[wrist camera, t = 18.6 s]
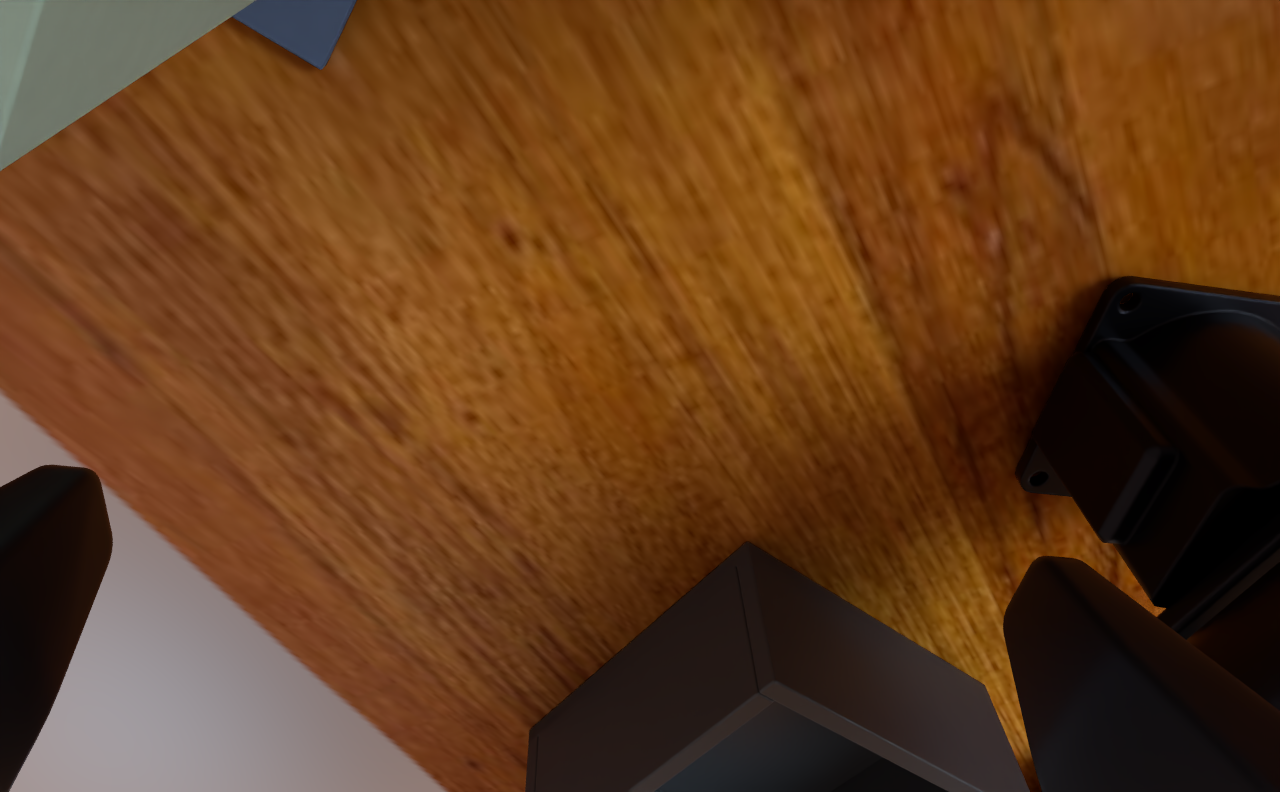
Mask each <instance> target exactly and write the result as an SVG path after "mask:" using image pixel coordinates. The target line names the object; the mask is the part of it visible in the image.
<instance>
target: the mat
mask: <svg viewBox="0 0 1280 792" xmlns="http://www.w3.org/2000/svg"><path fill="white" fill-rule="evenodd" d="M356 1H357V0H256V1H254V2H253V3H251V4H250V5H248V6H247V7H245V8H244V9H242V10H241V11H239V12H238V13H236V14H235V15H233V16H232V17H233V18H235V19H236V20H238V21H240V22H241V23H243V24H245V25H246V26H248V27H250V28H251V29H253V30H255V31H256V32H258V33H260V34H261V35H263V36H265V37H266V38H268V39H270V40H271V41H273V42H275V43H276V44H278V45H280V46H281V47H283V48H285V49H286V50H288V51H290V52H291V53H293V54H295V55H296V56H298V57H300V58H301V59H303V60H305V61H306V62H308V63H310V64H312V65H313V66H315V67H317V68H318V69H321V70H322V69H323V68H324V67H325V66H326V65H327V62H328V60H329V58H330V56H331V54H332V52H333V50H334V48H335V45H336V43H337V41H338V39H339V37H340V35H341V33H342V31H343V29H344V26H345V24H346V22H347V20H348V18H349V16H350V14H351V12H352V9H353V7H354V5H355V3H356Z"/></svg>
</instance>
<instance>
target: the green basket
mask: <svg viewBox="0 0 1280 792" xmlns="http://www.w3.org/2000/svg"><path fill="white" fill-rule="evenodd" d="M254 1H256V0H0V171H1V170H3V169H4V168H6V167H7V166H9V165H10V164H12V163H13V162H15V161H16V160H18V159H19V158H21V157H22V156H24V155H25V154H27V153H28V152H30V151H31V150H33V149H34V148H36V147H37V146H39V145H40V144H42V143H43V142H45V141H46V140H48V139H49V138H51V137H52V136H54V135H55V134H57V133H58V132H60V131H61V130H63V129H64V128H66V127H67V126H69V125H70V124H72V123H73V122H75V121H76V120H78V119H79V118H80V117H82V116H83V115H85V114H86V113H88V112H89V111H91V110H92V109H94V108H95V107H97V106H98V105H100V104H101V103H103V102H104V101H106V100H107V99H109V98H110V97H112V96H113V95H115V94H116V93H118V92H119V91H121V90H122V89H124V88H125V87H127V86H128V85H130V84H131V83H133V82H134V81H136V80H137V79H139V78H140V77H142V76H143V75H145V74H146V73H148V72H149V71H151V70H152V69H154V68H155V67H157V66H158V65H160V64H161V63H163V62H164V61H166V60H167V59H169V58H170V57H172V56H173V55H175V54H176V53H178V52H179V51H181V50H182V49H184V48H185V47H187V46H188V45H190V44H191V43H193V42H194V41H196V40H197V39H199V38H200V37H202V36H203V35H205V34H206V33H208V32H209V31H211V30H212V29H214V28H215V27H217V26H218V25H220V24H221V23H223V22H224V21H226V20H227V19H229V18H230V17H232V16H233V15H235V14H236V13H238V12H239V11H241V10H242V9H244V8H245V7H247V6H248V5H250V4H251V3H253V2H254Z"/></svg>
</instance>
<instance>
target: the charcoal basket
mask: <svg viewBox="0 0 1280 792" xmlns="http://www.w3.org/2000/svg"><path fill="white" fill-rule="evenodd" d="M525 792H1030V790H1029V788H1028V786H1027V783H1026V781H1025V779H1024V776H1023V774H1022V772H1021V769H1020V767H1019V765H1018V762H1017V760H1016V758H1015V755H1014V753H1013V750H1012V748H1011V746H1010V743H1009V741H1008V739H1007V736H1006V734H1005V732H1004V729H1003V727H1002V725H1001V722H1000V720H999V718H998V715H997V713H996V711H995V708H994V706H993V703H992V701H991V699H990V696H989V694H988V692H987V689H986V687H985V685H984V684H982V683H980V682H979V681H977V680H975V679H974V678H972V677H970V676H969V675H967V674H965V673H964V672H962V671H961V670H959V669H957V668H956V667H954V666H952V665H951V664H949V663H947V662H946V661H944V660H942V659H941V658H939V657H937V656H936V655H934V654H932V653H931V652H929V651H928V650H926V649H924V648H923V647H921V646H919V645H918V644H916V643H914V642H913V641H911V640H909V639H908V638H906V637H904V636H903V635H901V634H899V633H898V632H896V631H894V630H893V629H891V628H890V627H888V626H886V625H885V624H883V623H881V622H880V621H878V620H876V619H875V618H873V617H871V616H870V615H868V614H866V613H865V612H863V611H861V610H860V609H858V608H857V607H855V606H853V605H852V604H850V603H848V602H847V601H845V600H843V599H842V598H840V597H838V596H837V595H835V594H833V593H832V592H830V591H828V590H827V589H825V588H823V587H822V586H820V585H819V584H817V583H815V582H814V581H812V580H810V579H809V578H807V577H805V576H804V575H802V574H800V573H799V572H797V571H795V570H794V569H792V568H790V567H789V566H787V565H786V564H784V563H782V562H781V561H779V560H777V559H776V558H774V557H772V556H771V555H769V554H767V553H766V552H764V551H762V550H761V549H759V548H757V547H756V546H754V545H752V544H751V543H749V542H746V543H745V544H743V545H742V546H741V547H740V548H739V549H738V550H737V551H735V552H734V553H733V554H732V555H731V556H730V557H729V558H727V559H726V560H725V561H724V562H723V563H722V564H720V565H719V566H718V567H717V568H716V569H715V570H714V571H712V572H711V573H710V574H709V575H708V576H707V577H705V578H704V579H703V580H702V581H701V582H700V583H699V584H697V585H696V586H695V587H694V588H693V589H692V590H690V591H689V592H688V593H687V594H686V595H685V596H684V597H682V598H681V599H680V600H679V601H678V602H677V603H676V604H674V605H673V606H672V607H671V608H670V609H669V610H667V611H666V612H665V613H664V614H663V615H662V616H661V617H659V618H658V619H657V620H656V621H655V622H654V623H652V624H651V625H650V626H649V627H648V628H647V629H646V630H644V631H643V632H642V633H641V634H640V635H639V636H637V637H636V638H635V639H634V640H633V641H632V642H631V643H629V644H628V645H627V646H626V647H625V648H624V649H623V650H621V651H620V652H619V653H618V654H617V655H616V656H614V657H613V658H612V659H611V660H610V661H609V662H608V663H606V664H605V665H604V666H603V667H602V668H601V669H599V670H598V671H597V672H596V673H595V674H594V675H593V676H591V677H590V678H589V679H588V680H587V681H586V682H584V683H583V684H582V685H581V686H580V687H579V688H578V689H576V690H575V691H574V692H573V693H572V694H571V695H570V696H568V697H567V698H566V699H565V700H564V701H563V702H561V703H560V704H559V705H558V706H557V707H556V708H555V709H553V710H552V711H551V712H550V713H549V714H548V715H546V716H545V717H544V718H543V719H542V720H541V721H540V722H538V723H537V724H536V725H535V726H534V727H533V728H531V729H530V731H529V745H528V759H527V774H526V788H525Z"/></svg>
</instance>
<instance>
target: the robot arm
mask: <svg viewBox="0 0 1280 792" xmlns="http://www.w3.org/2000/svg"><path fill="white" fill-rule="evenodd" d="M1130 293H1133V295H1132V297H1131V298H1130V299H1129V300H1128V301H1127V302H1125V303H1122V304H1120V301H1121V300H1122V299H1123V297H1124V296H1126V295H1128V294H1130ZM1037 472H1040V473H1039V474H1038V475H1036V476H1033V477H1031V476H1032V475H1033V474H1035V473H1037ZM1015 475H1016V478H1017V480H1018V482H1019V483H1020V485H1021V487H1022V488H1023V489H1024V490H1025V491H1028V492H1031V493H1040V494H1049V495H1059V496H1069V497H1072V498H1073V500H1074V501H1075V503H1076V504H1077V506H1078V507H1079V509H1080V510H1081V512H1082V513H1083V515H1084V516H1085V518H1086V519H1087V521H1088V522H1089V524H1090V525H1091V527H1092V528H1093V530H1094V531H1095V533H1096V535H1097V536H1098V538H1099V539H1100V540H1101V541H1102V542H1103V543H1113V545H1114V546H1115V548H1116V549H1117V551H1118V552H1119V554H1120V555H1121V557H1122V558H1123V560H1124V561H1125V563H1126V564H1127V566H1128V567H1129V569H1130V570H1131V572H1132V573H1133V575H1134V576H1135V578H1136V579H1137V581H1138V582H1139V584H1140V585H1141V587H1142V588H1143V590H1144V591H1145V593H1146V594H1147V595H1148V597H1149V598H1150V600H1151V601H1152V603H1153V604H1154V606H1157V607H1162V608H1166V609H1165V610H1164V611H1163V612H1162V613H1161V614H1159V615H1158V616H1157V617H1155V616H1154V615H1153V614H1151V613H1150V612H1149V611H1148V610H1146V609H1145V608H1144V607H1142V606H1141V605H1140V604H1138V603H1137V602H1136V601H1134V600H1133V599H1132V598H1130V597H1129V596H1128V595H1126V594H1125V593H1124V592H1123V591H1121V590H1120V589H1119V588H1117V587H1116V586H1115V585H1113V584H1112V583H1111V582H1109V581H1108V580H1107V579H1105V578H1104V577H1103V576H1101V575H1100V574H1099V573H1097V572H1096V571H1095V570H1094V569H1092V568H1091V567H1090V566H1088V565H1087V564H1086V563H1084V562H1083V561H1080V560H1078V559H1074V558H1065V557H1054V556H1042V557H1039V558H1037V559H1036V560H1034V561H1033V562H1032V564H1031V565H1030V567H1029V568H1028V570H1027V572H1026V574H1025V576H1024V577H1023V579H1022V581H1021V583H1020V585H1019V587H1018V588H1017V590H1016V592H1015V594H1014V596H1013V598H1012V599H1011V601H1010V603H1009V605H1008V607H1007V609H1006V612H1005V616H1004V622H1003V630H1004V637H1005V641H1006V646H1007V650H1008V655H1009V659H1010V663H1011V668H1012V672H1013V677H1014V681H1015V685H1016V690H1017V694H1018V698H1019V703H1020V707H1021V712H1022V716H1023V720H1024V725H1025V729H1026V733H1027V738H1028V742H1029V747H1030V751H1031V755H1032V758H1033V762H1034V766H1035V770H1036V774H1037V777H1038V780H1039V783H1040V786H1041V790H1042V792H1280V296H1274V295H1267V294H1259V293H1252V292H1245V291H1237V290H1230V289H1222V288H1215V287H1207V286H1200V285H1193V284H1185V283H1178V282H1170V281H1163V280H1155V279H1148V278H1141V277H1133V276H1128V277H1122V278H1119V279H1117V280H1115V281H1113V282H1112V283H1111V284H1109V285H1108V287H1107V288H1106V289H1105V291H1104V292H1103V294H1102V296H1101V298H1100V300H1099V302H1098V304H1097V306H1096V308H1095V310H1094V312H1093V314H1092V316H1091V318H1090V320H1089V322H1088V324H1087V326H1086V328H1085V330H1084V332H1083V334H1082V336H1081V338H1080V341H1079V343H1078V345H1077V347H1076V349H1075V351H1074V353H1073V355H1072V356H1071V357H1070V358H1069V359H1068V361H1067V363H1066V365H1065V367H1064V369H1063V371H1062V373H1061V375H1060V377H1059V379H1058V381H1057V383H1056V385H1055V387H1054V389H1053V391H1052V393H1051V395H1050V397H1049V399H1048V401H1047V403H1046V405H1045V407H1044V409H1043V411H1042V413H1041V415H1040V417H1039V419H1038V421H1037V423H1036V425H1035V427H1034V429H1033V431H1032V437H1031V439H1030V441H1029V443H1028V445H1027V447H1026V449H1025V451H1024V453H1023V455H1022V457H1021V460H1020V462H1019V464H1018V466H1017V468H1016V471H1015ZM112 541H113V538H112V531H111V527H110V522H109V518H108V513H107V508H106V504H105V499H104V495H103V490H102V486H101V482H100V479H99V477H98V475H97V474H96V473H95V472H94V471H93V470H90V469H88V468H82V467H71V466H60V465H44V466H40V467H38V468H36V469H34V470H32V471H30V472H28V473H26V474H24V475H22V476H20V477H19V478H17V479H15V480H13V481H11V482H9V483H7V484H5V485H3V486H2V487H0V792H9V790H10V789H11V787H12V785H13V783H14V781H15V779H16V777H17V775H18V773H19V771H20V770H21V768H22V766H23V764H24V762H25V760H26V758H27V756H28V755H29V753H30V751H31V749H32V747H33V745H34V743H35V741H36V739H37V737H38V735H39V733H40V731H41V729H42V727H43V725H44V723H45V721H46V719H47V717H48V715H49V713H50V711H51V708H52V706H53V704H54V701H55V699H56V697H57V694H58V692H59V690H60V687H61V684H62V682H63V679H64V677H65V674H66V672H67V669H68V667H69V664H70V661H71V659H72V656H73V653H74V651H75V649H76V646H77V643H78V641H79V638H80V636H81V633H82V630H83V628H84V625H85V623H86V620H87V618H88V615H89V612H90V610H91V607H92V605H93V602H94V600H95V597H96V595H97V592H98V590H99V587H100V584H101V582H102V579H103V577H104V574H105V571H106V569H107V567H108V564H109V561H110V557H111V553H112V546H113V544H112V543H113V542H112Z"/></svg>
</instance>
